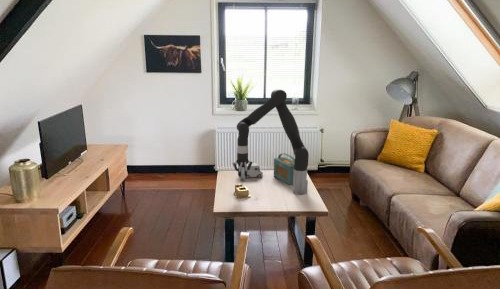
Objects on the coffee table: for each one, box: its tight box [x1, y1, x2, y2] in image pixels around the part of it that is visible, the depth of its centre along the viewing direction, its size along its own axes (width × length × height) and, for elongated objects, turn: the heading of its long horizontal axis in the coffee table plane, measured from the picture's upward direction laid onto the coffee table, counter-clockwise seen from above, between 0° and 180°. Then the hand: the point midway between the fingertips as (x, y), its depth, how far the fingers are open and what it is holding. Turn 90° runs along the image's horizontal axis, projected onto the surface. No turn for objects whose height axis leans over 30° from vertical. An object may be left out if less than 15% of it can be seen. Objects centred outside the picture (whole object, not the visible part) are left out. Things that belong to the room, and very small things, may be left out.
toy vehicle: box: [245, 162, 264, 179], centre depth 292 cm, size 9×18×10 cm, turn 103°
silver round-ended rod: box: [239, 166, 246, 182], centre depth 249 cm, size 3×3×10 cm
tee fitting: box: [233, 183, 252, 200], centre depth 254 cm, size 9×13×5 cm
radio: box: [273, 153, 295, 186], centre depth 284 cm, size 26×11×20 cm, turn 26°
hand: (242, 176), depth 249 cm, fingers closed on silver round-ended rod, 3 cm apart
